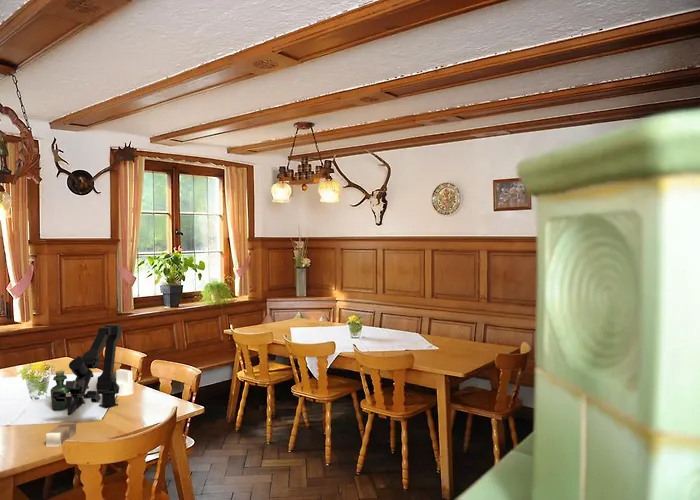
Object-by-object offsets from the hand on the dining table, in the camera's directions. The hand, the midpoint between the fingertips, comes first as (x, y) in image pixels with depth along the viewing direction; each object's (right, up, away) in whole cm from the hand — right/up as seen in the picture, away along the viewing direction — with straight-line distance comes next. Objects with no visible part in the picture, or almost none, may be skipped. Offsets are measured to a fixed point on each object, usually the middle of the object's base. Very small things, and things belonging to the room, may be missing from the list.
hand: (68, 415), depth 214 cm
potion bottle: (-21, -7, +31) cm, 38 cm away
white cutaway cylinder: (-2, -7, +56) cm, 57 cm away
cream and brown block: (0, -6, +1) cm, 6 cm away
